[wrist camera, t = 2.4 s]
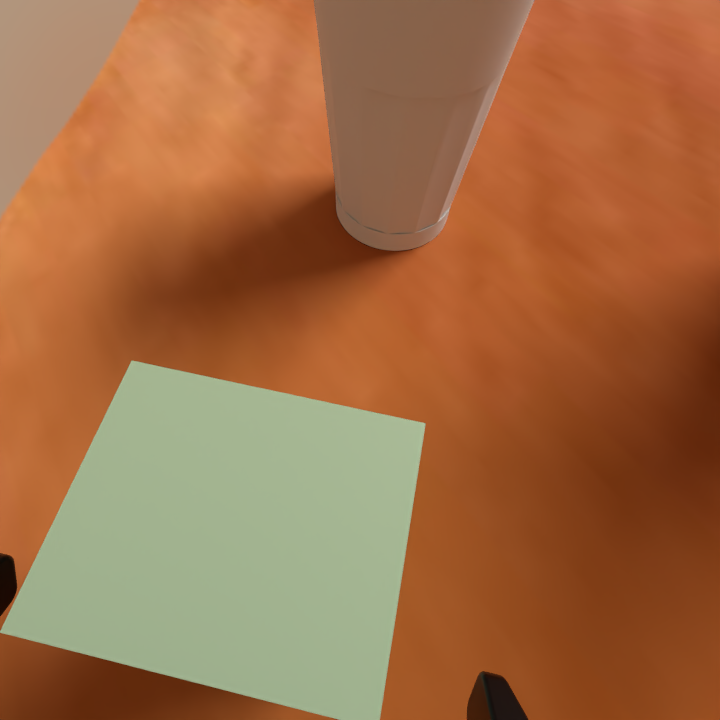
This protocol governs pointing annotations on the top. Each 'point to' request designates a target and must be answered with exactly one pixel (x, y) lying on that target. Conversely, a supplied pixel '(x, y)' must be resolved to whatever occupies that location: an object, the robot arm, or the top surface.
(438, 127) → the cup
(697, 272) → the top surface
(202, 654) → the pale green block
